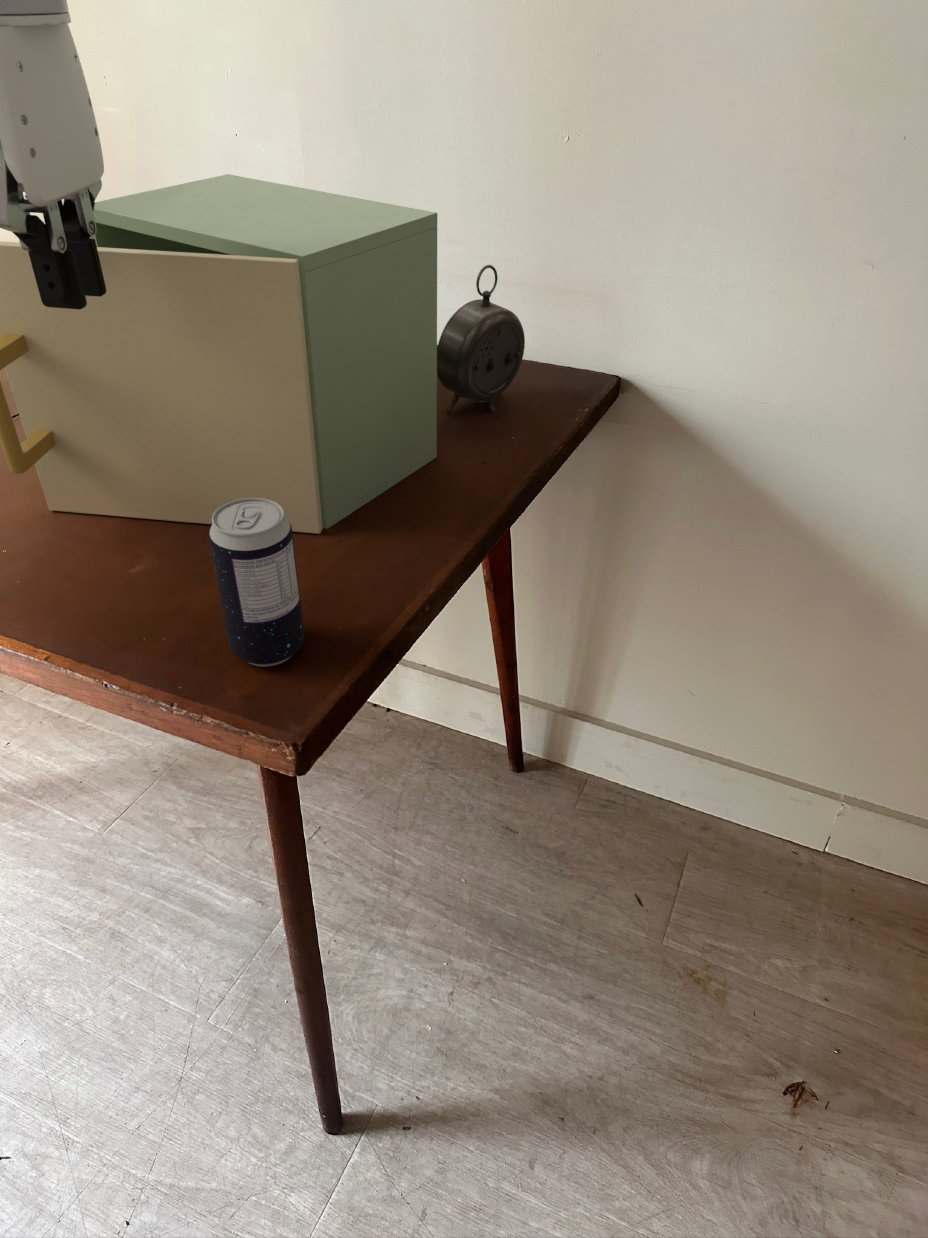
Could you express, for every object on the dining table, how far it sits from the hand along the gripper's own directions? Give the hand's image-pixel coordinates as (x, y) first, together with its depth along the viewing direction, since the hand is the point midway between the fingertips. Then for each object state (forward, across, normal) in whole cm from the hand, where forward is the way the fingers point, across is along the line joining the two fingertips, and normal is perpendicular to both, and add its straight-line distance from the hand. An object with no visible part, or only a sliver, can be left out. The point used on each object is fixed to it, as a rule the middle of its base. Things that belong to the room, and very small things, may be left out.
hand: (75, 298), depth 64 cm
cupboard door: (+22, -3, +2) cm, 22 cm away
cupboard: (+22, -20, +7) cm, 31 cm away
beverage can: (+22, +11, +16) cm, 30 cm away
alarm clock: (+22, -37, +26) cm, 50 cm away
